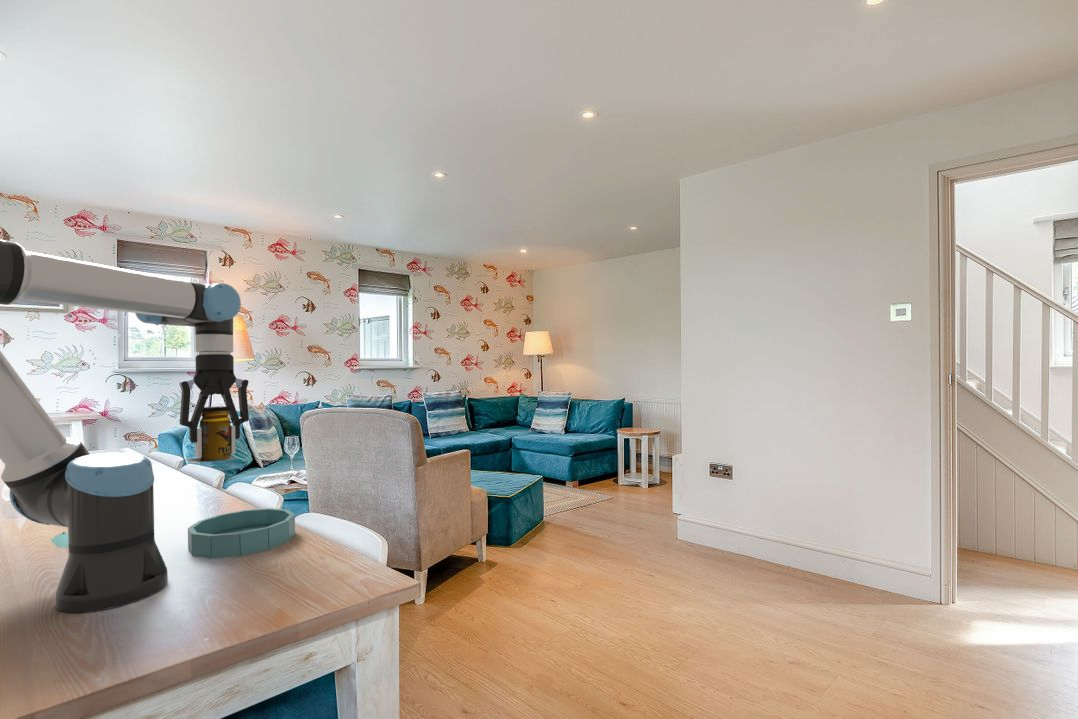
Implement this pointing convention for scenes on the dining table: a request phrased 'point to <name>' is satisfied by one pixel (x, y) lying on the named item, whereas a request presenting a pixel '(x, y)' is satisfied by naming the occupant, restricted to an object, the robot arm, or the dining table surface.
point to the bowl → (241, 533)
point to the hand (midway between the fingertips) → (215, 455)
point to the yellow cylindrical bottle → (215, 435)
